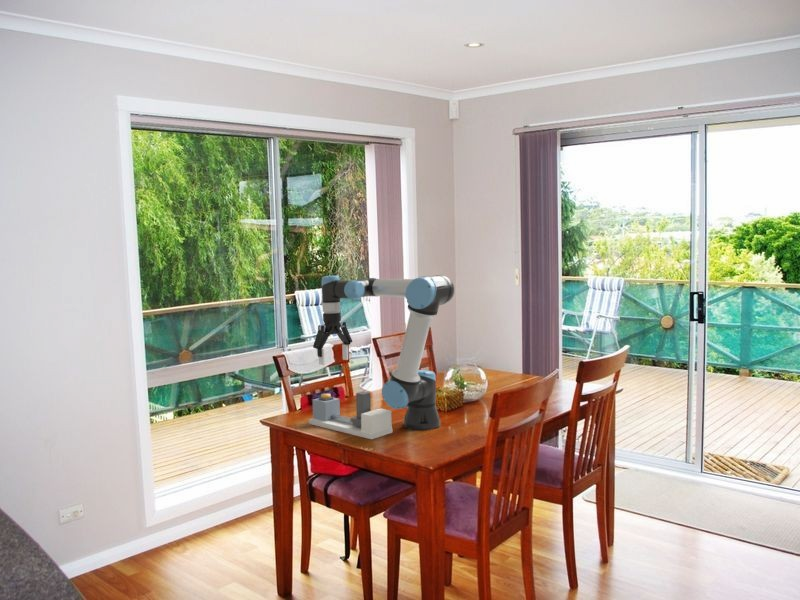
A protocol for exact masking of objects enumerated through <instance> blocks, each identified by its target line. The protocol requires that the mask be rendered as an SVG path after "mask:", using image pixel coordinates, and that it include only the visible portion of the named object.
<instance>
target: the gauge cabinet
mask: <svg viewBox="0 0 800 600" xmlns="http://www.w3.org/2000/svg"><path fill="white" fill-rule="evenodd" d="M340 403H341V401H340V398H336V397H333V400H329V401H322V400H319V397H318V398H315V399H314V398H313V399H312V418H314V419H318V420H322V421H329V420H331V415H334V414H336V415H340V416H341V411H340V410H341V407H340V406H341V404H340Z"/></svg>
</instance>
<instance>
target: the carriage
mask: <svg viewBox="0 0 800 600" xmlns="http://www.w3.org/2000/svg"><path fill="white" fill-rule="evenodd" d="M355 400H356V401H355V404H356V416H353V417H349V418H350V419H351V422H353V426H357V427H361V414H362V413H366V412H369V411H372V409H371V408H372V407H371V406H372V405H371V403H372V402H371V392H367V391H359V392H356V393H355Z"/></svg>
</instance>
